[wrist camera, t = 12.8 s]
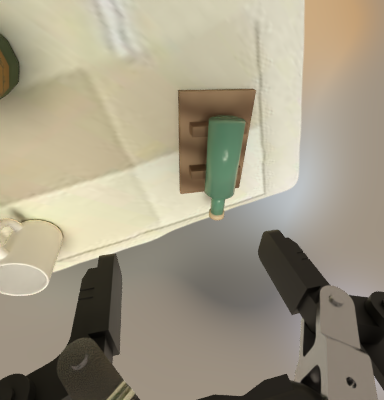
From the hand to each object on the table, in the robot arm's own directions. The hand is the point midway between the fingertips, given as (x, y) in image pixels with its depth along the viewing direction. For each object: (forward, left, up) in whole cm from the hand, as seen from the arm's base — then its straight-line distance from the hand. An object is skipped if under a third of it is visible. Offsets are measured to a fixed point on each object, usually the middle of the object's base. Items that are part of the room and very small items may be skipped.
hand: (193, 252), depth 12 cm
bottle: (+9, +10, -25) cm, 28 cm away
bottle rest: (+6, +10, -28) cm, 30 cm away
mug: (+20, -24, -28) cm, 42 cm away
